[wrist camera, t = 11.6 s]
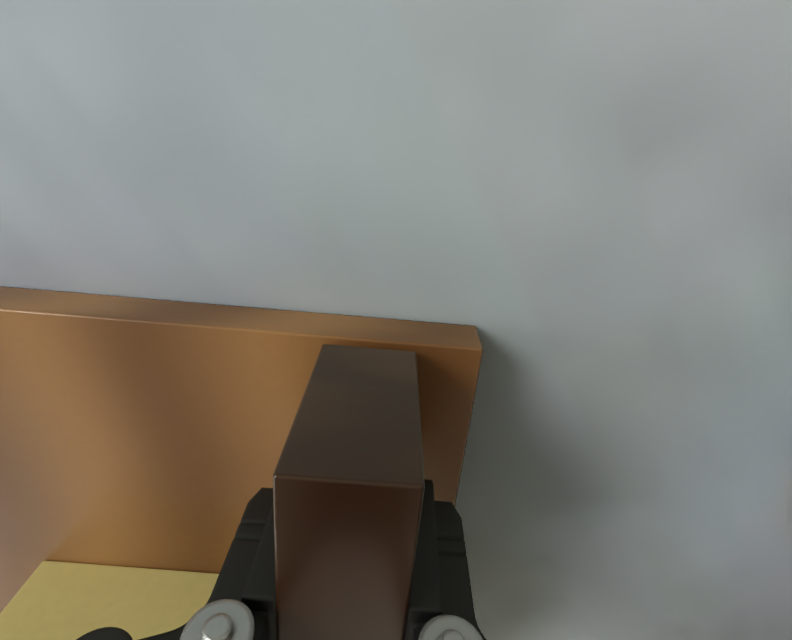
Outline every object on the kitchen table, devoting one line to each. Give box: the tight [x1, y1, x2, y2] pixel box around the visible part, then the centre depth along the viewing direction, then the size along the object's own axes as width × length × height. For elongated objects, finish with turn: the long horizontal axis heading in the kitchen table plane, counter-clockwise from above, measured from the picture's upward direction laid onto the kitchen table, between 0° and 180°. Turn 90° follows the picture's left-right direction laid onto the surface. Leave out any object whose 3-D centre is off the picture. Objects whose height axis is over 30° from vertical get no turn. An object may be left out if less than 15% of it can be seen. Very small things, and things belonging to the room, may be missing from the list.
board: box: [0, 287, 483, 613], centre depth 17 cm, size 18×20×2 cm
